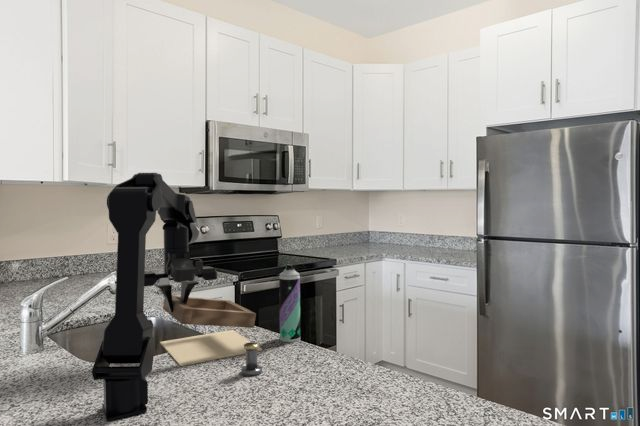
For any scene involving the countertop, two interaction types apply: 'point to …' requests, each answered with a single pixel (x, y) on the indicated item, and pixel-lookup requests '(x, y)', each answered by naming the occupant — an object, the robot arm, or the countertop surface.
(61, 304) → the countertop surface
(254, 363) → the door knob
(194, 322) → the walnut frame
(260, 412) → the countertop surface
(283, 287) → the spray can
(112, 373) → the robot arm
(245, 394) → the countertop surface
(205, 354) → the cork mat
